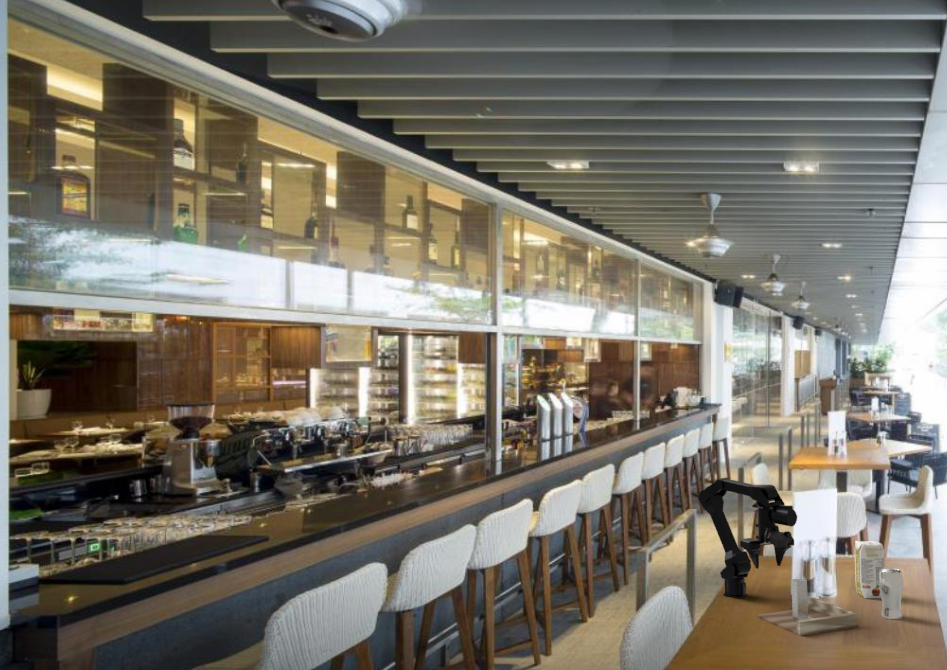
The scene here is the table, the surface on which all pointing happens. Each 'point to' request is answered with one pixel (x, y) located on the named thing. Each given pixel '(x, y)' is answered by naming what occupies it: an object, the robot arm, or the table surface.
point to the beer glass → (891, 592)
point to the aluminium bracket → (799, 600)
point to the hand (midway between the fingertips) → (767, 567)
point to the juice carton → (868, 568)
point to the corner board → (823, 614)
